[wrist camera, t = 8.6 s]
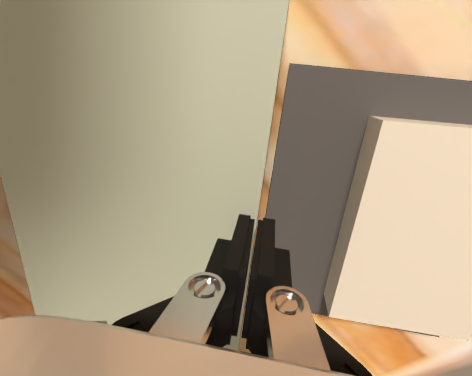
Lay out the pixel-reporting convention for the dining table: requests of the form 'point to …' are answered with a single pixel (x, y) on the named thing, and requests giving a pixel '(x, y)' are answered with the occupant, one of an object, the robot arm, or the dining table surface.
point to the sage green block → (132, 142)
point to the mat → (338, 154)
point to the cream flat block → (407, 231)
